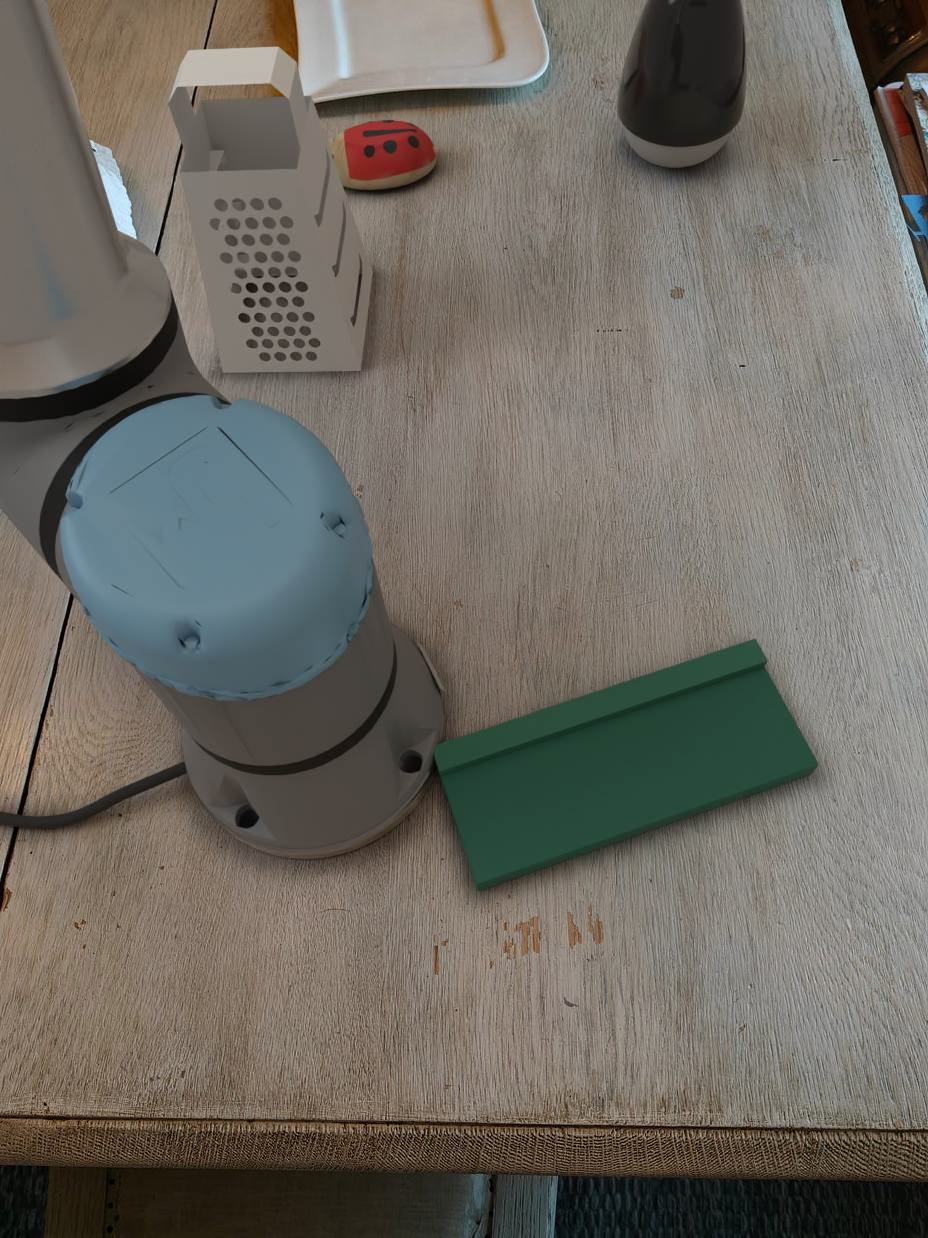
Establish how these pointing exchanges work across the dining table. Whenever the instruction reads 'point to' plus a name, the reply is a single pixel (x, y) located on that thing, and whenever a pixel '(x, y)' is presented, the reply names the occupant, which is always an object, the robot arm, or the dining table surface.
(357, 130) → the ladybug figurine
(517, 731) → the green ledged plate
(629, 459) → the dining table surface
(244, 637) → the robot arm
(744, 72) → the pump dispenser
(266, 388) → the dining table surface
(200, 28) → the dining table surface
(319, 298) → the grater
